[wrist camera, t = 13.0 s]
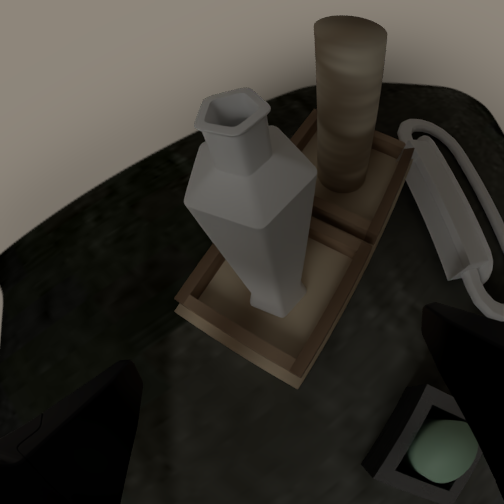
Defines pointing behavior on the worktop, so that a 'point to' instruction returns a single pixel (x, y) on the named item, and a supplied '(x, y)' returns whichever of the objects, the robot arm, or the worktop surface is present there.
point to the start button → (442, 450)
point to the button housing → (401, 437)
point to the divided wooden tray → (314, 270)
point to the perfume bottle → (253, 197)
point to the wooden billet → (347, 97)
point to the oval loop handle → (453, 211)
